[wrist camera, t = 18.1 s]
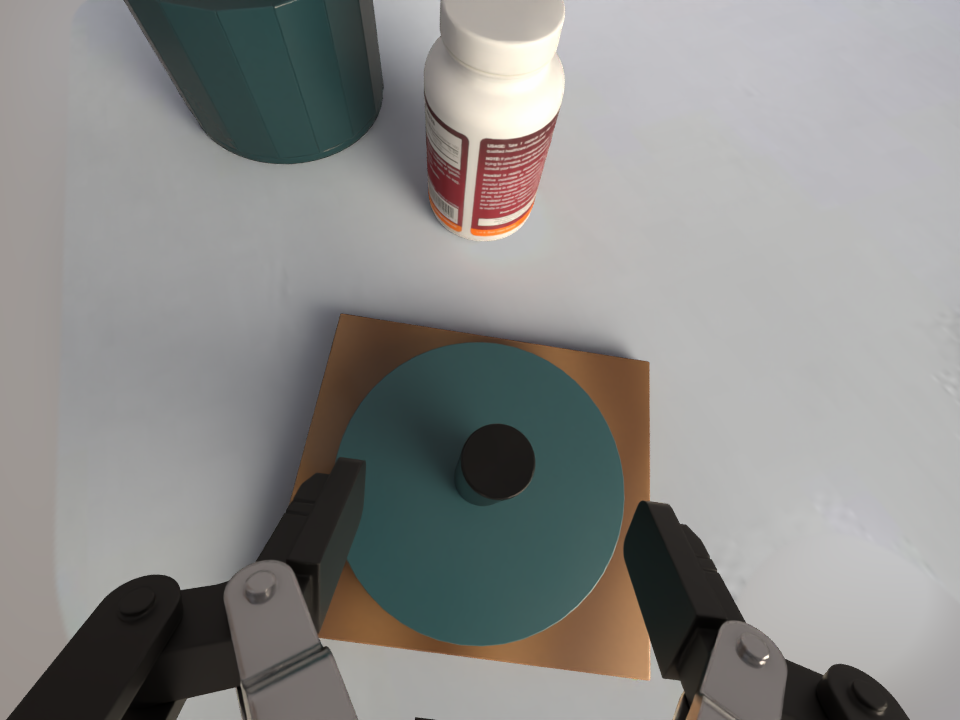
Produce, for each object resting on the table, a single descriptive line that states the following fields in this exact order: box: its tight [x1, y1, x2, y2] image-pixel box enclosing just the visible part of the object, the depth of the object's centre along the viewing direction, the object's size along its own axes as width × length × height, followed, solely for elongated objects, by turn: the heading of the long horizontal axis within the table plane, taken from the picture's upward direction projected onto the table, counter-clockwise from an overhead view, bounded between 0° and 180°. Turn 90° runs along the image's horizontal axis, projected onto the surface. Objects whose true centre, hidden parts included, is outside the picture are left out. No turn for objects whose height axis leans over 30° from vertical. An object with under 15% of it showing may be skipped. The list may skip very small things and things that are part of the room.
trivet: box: [289, 314, 650, 680], centre depth 21 cm, size 16×14×1 cm
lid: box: [335, 342, 625, 646], centre depth 17 cm, size 13×13×7 cm
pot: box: [124, 0, 384, 164], centre depth 24 cm, size 12×12×8 cm
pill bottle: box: [424, 0, 565, 241], centre depth 22 cm, size 6×6×11 cm
